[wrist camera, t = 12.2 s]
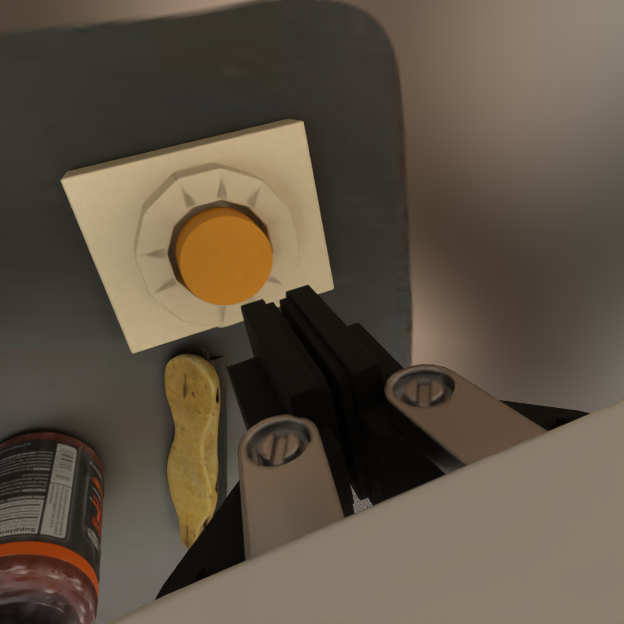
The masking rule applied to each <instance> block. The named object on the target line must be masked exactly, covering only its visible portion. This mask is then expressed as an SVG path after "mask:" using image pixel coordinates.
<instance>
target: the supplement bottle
mask: <svg viewBox="0 0 624 624" xmlns="http://www.w3.org/2000/svg"><path fill="white" fill-rule="evenodd" d="M103 497H104V478H103V469H102V465H101V462H100V460H99V458H98V457H97V455H96V454H95V452H94V451H93V450H92V449H91V448H90V446H89V445H87V444H85V443H84V442H82V441H80V440H78V439H77V438H73V437H71V436H68V435H65V434H60V433H57V432H38V433H29V434H25V435H21V436H18V437H14V438H12V439H10V440H7V441H5V442H3V443H2V444H0V624H93V623H94V620H95V618H96V612H97V604H98V584H99V579H100V557H101V549H100V547H101V528H102V518H103V515H102V512H103Z"/></svg>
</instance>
